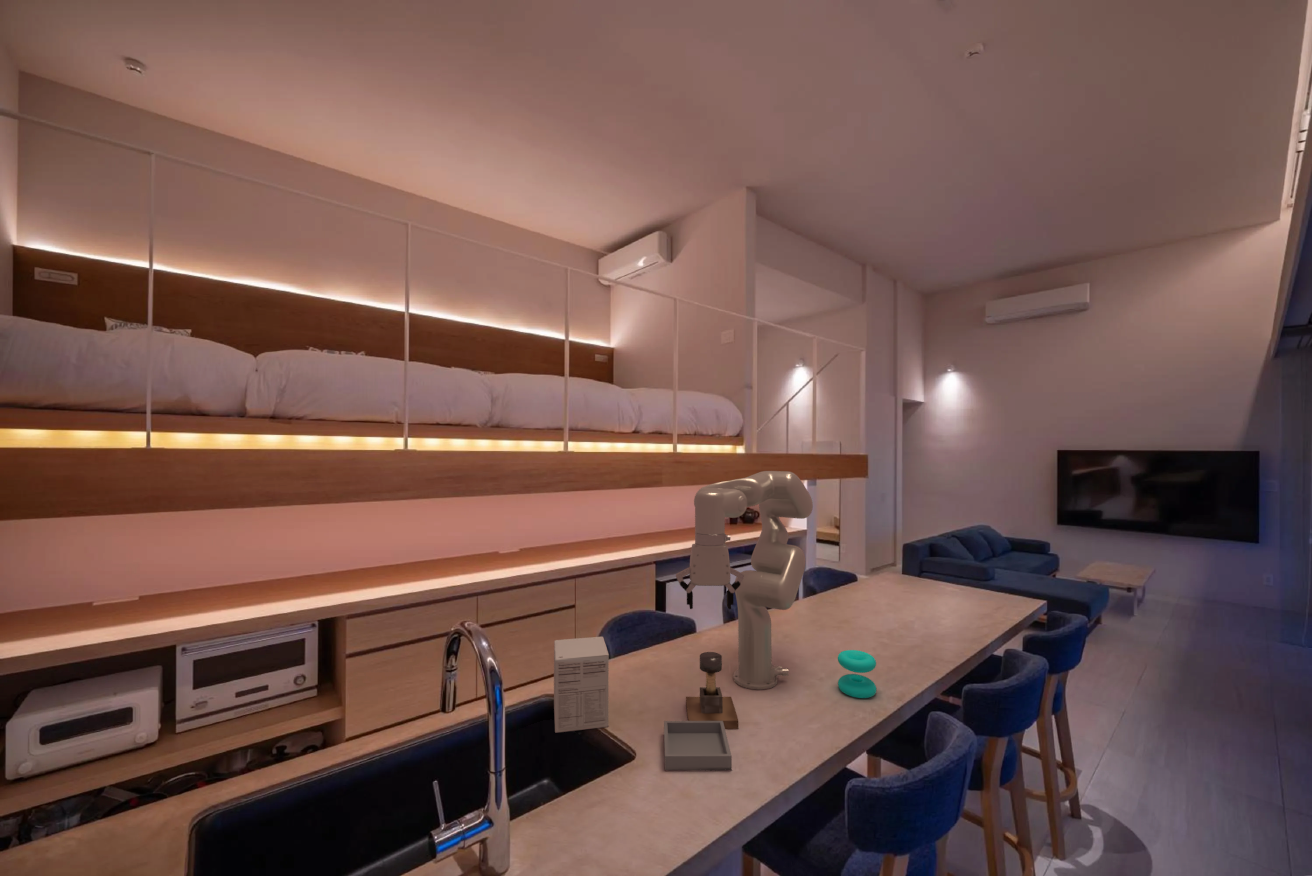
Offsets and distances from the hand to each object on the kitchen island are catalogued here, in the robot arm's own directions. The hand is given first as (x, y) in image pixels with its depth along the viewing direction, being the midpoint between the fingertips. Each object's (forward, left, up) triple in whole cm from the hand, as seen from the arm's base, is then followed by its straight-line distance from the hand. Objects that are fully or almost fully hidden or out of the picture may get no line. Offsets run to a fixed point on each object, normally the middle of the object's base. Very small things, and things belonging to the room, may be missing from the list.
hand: (709, 607), depth 130 cm
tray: (+5, +15, -27) cm, 31 cm away
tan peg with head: (0, 0, -25) cm, 25 cm away
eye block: (0, 0, -27) cm, 27 cm away
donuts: (-42, -13, -28) cm, 52 cm away
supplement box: (+33, 0, -28) cm, 43 cm away
